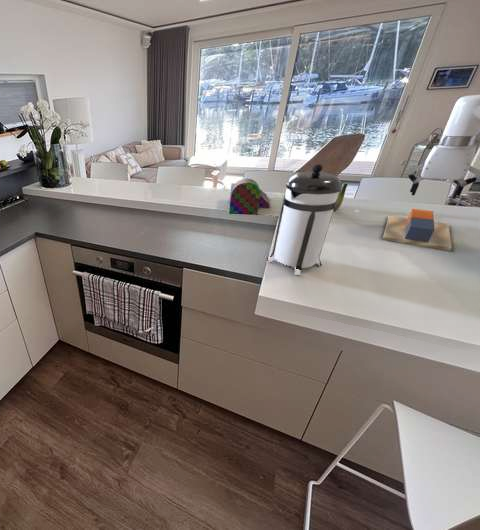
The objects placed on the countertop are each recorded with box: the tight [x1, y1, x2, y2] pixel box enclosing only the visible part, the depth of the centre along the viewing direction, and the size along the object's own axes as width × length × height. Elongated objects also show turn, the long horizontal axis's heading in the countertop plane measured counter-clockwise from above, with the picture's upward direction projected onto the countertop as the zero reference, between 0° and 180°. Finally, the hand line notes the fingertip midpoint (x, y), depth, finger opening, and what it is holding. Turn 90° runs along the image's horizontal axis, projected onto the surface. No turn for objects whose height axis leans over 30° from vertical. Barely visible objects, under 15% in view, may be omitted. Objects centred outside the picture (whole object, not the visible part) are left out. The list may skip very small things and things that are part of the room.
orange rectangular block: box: [406, 208, 435, 228], centre depth 100 cm, size 6×9×4 cm, turn 138°
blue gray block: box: [405, 217, 435, 243], centre depth 94 cm, size 6×9×4 cm, turn 138°
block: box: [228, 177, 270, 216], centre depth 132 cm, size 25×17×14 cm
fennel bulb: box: [334, 181, 349, 211], centre depth 120 cm, size 6×5×12 cm
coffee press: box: [266, 163, 343, 271], centre depth 82 cm, size 17×16×30 cm
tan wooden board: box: [382, 215, 453, 252], centre depth 99 cm, size 16×22×1 cm
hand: (432, 195), depth 96 cm, fingers open, 9 cm apart
